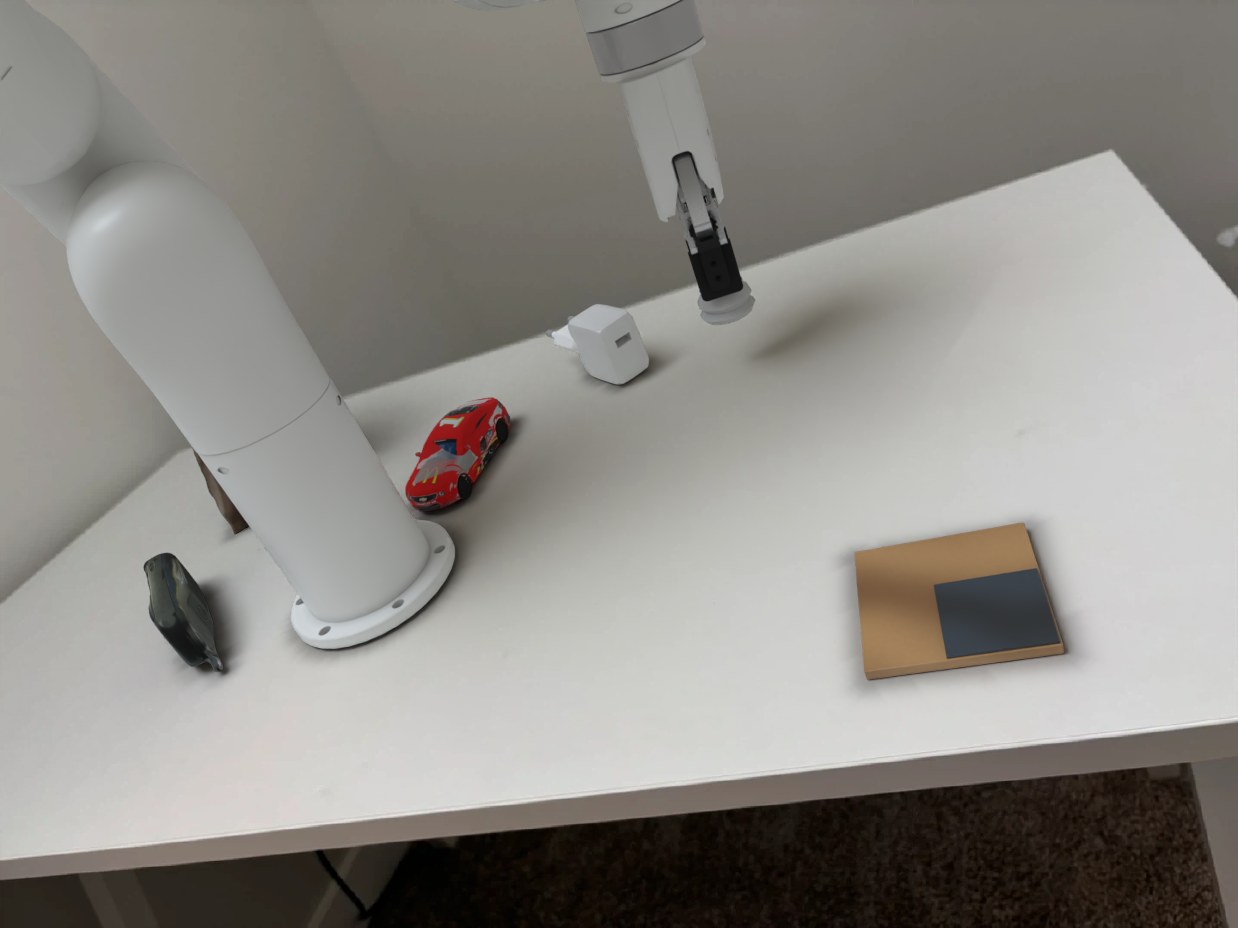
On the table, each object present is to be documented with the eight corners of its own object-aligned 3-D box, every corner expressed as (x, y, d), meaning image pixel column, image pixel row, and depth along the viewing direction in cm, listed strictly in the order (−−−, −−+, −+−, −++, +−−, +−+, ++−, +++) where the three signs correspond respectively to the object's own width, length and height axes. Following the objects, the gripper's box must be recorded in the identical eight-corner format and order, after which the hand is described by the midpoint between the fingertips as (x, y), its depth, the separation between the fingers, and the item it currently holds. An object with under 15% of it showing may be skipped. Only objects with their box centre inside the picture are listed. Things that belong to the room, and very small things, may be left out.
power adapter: (552, 369, 90) (527, 315, 87) (591, 343, 92) (568, 289, 89) (617, 393, 81) (592, 333, 78) (659, 363, 83) (637, 304, 80)
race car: (458, 516, 74) (435, 475, 72) (404, 521, 76) (380, 482, 74) (524, 418, 83) (505, 380, 81) (473, 426, 86) (454, 389, 84)
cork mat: (856, 559, 54) (853, 549, 53) (1025, 530, 51) (1023, 518, 50) (866, 680, 46) (863, 669, 46) (1064, 653, 44) (1062, 641, 43)
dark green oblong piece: (133, 562, 76) (152, 640, 64) (168, 541, 77) (193, 614, 65) (170, 607, 79) (195, 691, 66) (203, 586, 80) (234, 665, 67)
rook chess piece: (693, 316, 76) (663, 223, 72) (743, 294, 77) (716, 200, 73) (714, 333, 73) (683, 236, 69) (766, 309, 73) (739, 211, 69)
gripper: (595, 43, 72) (668, 264, 81) (593, 81, 58) (681, 343, 67) (690, 7, 71) (753, 235, 80) (712, 38, 57) (785, 310, 66)
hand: (719, 282), depth 73 cm, fingers closed on rook chess piece, 3 cm apart
